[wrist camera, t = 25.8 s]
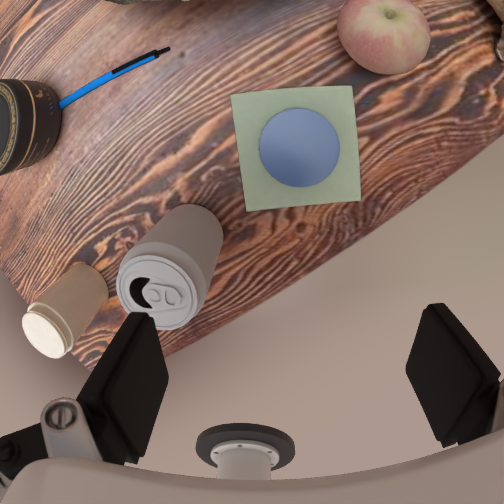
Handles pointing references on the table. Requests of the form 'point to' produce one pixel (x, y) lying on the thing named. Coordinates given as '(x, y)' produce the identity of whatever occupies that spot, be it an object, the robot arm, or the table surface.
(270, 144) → the jar lid
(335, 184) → the coaster
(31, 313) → the jam jar
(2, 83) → the jar
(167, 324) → the beverage can
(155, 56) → the pen
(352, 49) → the apple
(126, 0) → the stone bowl
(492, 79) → the table surface
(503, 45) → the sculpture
